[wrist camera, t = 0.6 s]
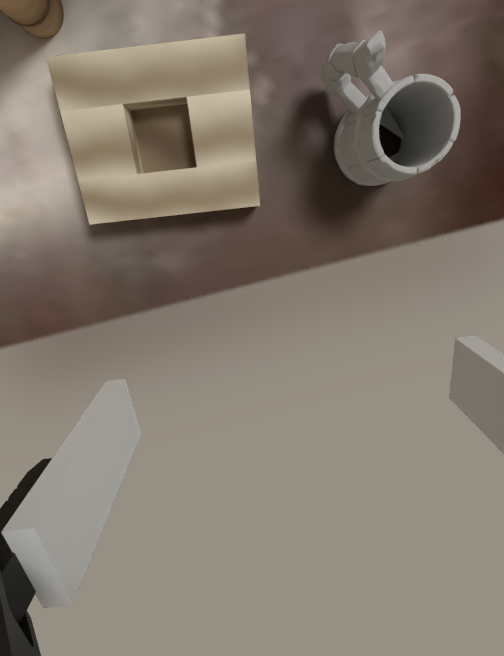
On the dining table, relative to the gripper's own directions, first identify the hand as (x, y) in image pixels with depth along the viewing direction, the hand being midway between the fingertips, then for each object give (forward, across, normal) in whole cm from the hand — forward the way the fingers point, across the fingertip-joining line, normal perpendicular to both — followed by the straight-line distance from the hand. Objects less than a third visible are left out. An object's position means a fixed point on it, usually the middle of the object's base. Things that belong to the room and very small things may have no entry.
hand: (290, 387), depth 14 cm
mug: (+26, +11, +12) cm, 31 cm away
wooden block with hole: (+26, -7, +12) cm, 30 cm away
